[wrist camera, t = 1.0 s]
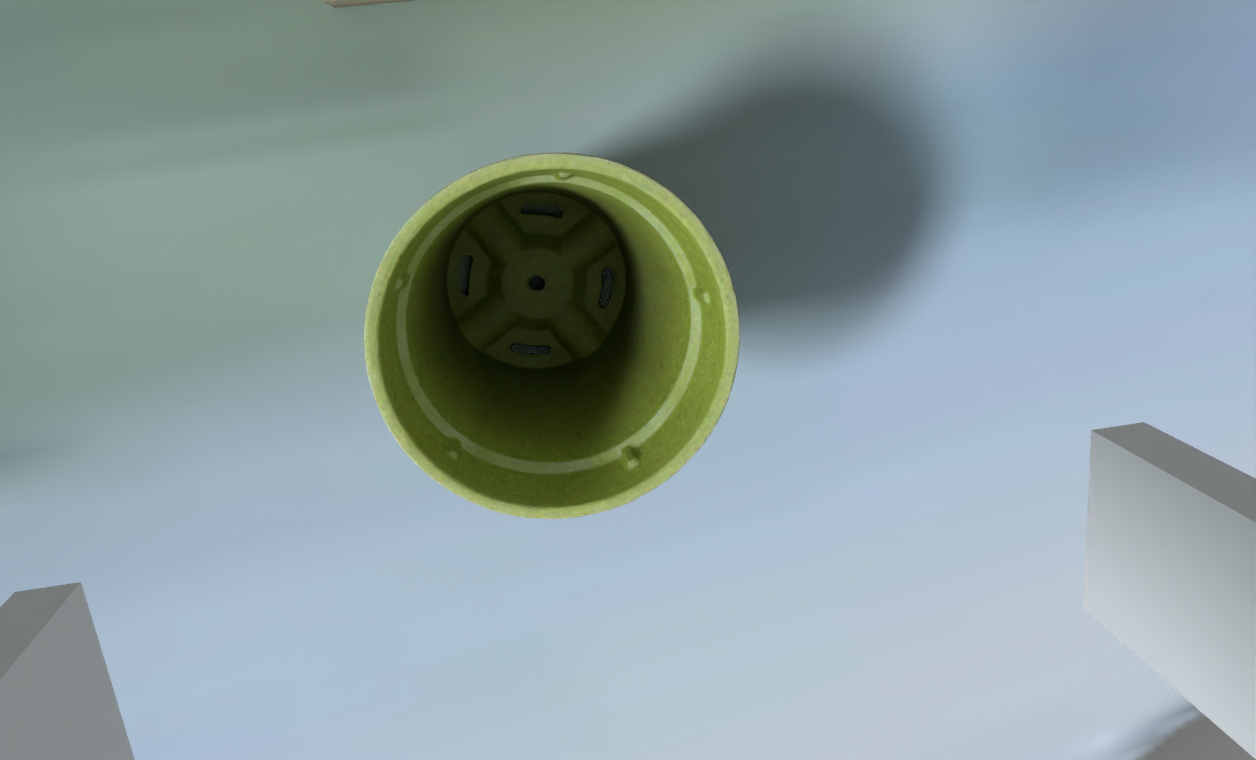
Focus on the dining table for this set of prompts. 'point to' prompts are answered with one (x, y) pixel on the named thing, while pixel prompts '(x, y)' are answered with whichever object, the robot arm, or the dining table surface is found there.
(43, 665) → the robot arm
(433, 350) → the plant pot
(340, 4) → the birch pedestal block
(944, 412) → the dining table surface
